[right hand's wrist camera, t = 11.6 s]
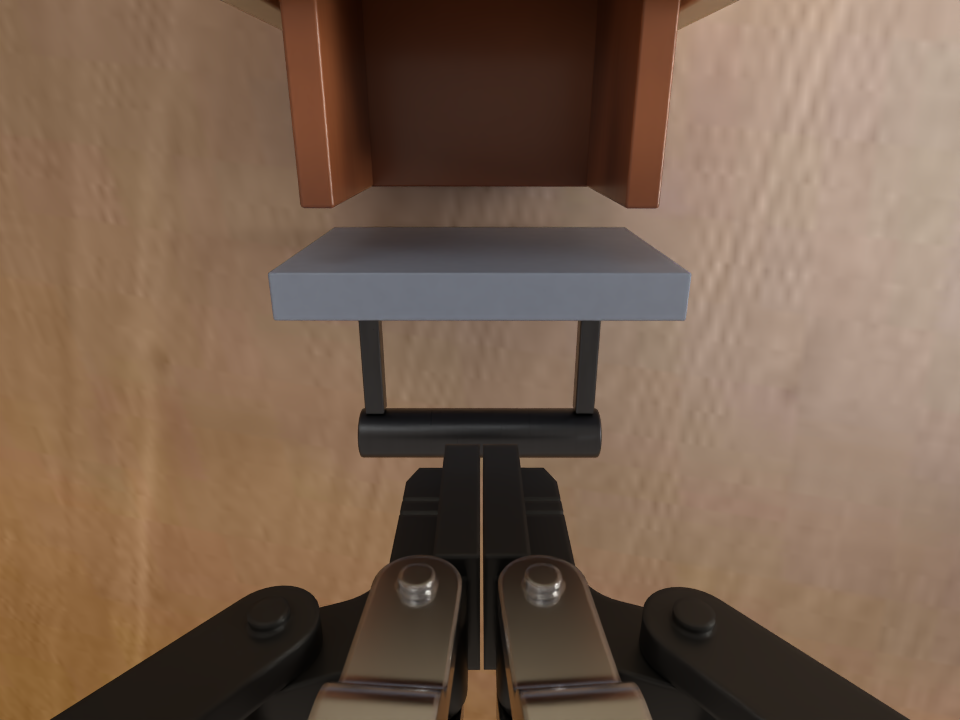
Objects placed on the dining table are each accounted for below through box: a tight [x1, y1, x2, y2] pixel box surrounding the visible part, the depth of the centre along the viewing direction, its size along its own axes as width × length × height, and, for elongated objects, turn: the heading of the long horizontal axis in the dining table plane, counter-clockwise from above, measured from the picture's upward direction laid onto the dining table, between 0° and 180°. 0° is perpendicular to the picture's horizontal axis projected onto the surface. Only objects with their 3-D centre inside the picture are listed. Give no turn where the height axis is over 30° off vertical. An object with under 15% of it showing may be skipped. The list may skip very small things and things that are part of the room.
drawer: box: [268, 0, 691, 458], centre depth 16 cm, size 25×10×7 cm, turn 0°
